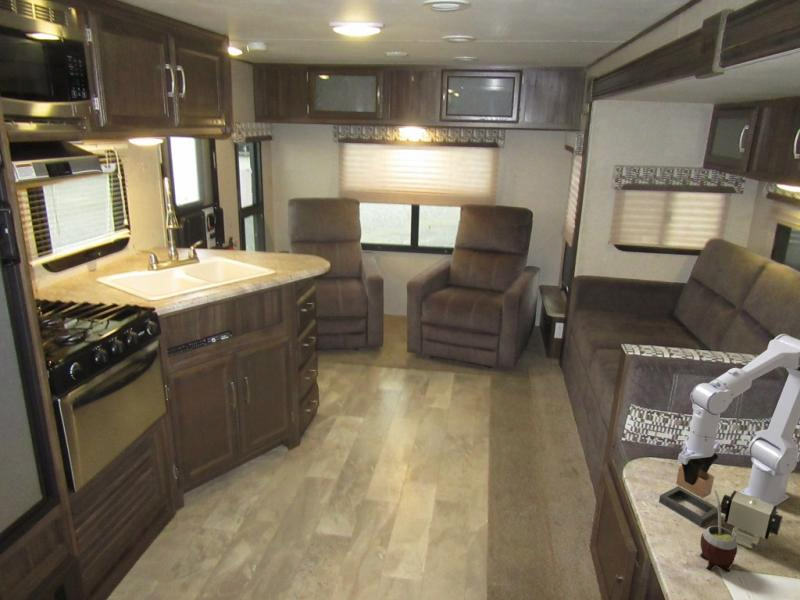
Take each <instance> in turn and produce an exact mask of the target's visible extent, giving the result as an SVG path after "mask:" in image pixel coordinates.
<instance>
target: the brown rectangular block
mask: <svg viewBox="0 0 800 600" xmlns="http://www.w3.org/2000/svg"><path fill="white" fill-rule="evenodd" d="M714 479H715V476H714V475H712V474H710V473H708V472H707V473H706V472H704V471H702V470H701V469H700V471H699V473H698V475H697V479H696V481H695V483H694V485H691V484H689V483H687V482H685V479H684V471H683V467H682V465H680V466H679V467H678V471H677V478H676V483H675V484H676V485H677V486H679V487H681V488H683V489H684V490H686V491H688V492H690V493H692V494H693V495H695V496H697V497H699V498H701V499H704V498H705V497H708V496H710V495H711V494H712V490H713V485H714Z"/></svg>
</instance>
